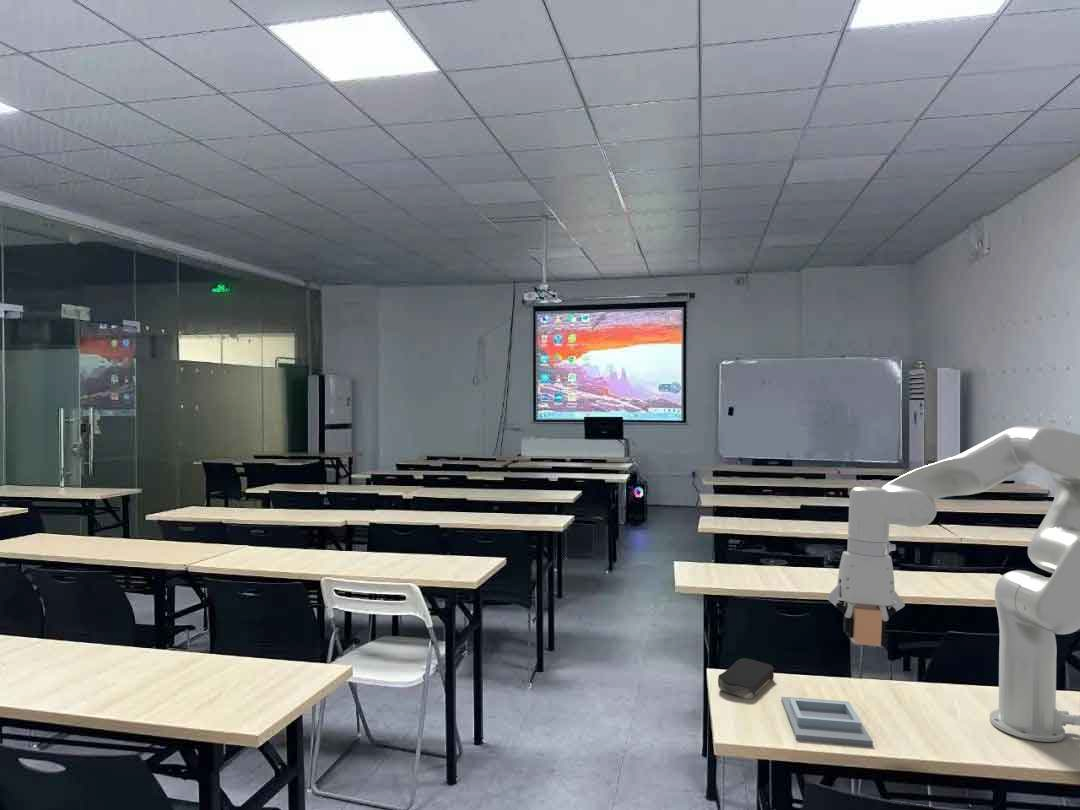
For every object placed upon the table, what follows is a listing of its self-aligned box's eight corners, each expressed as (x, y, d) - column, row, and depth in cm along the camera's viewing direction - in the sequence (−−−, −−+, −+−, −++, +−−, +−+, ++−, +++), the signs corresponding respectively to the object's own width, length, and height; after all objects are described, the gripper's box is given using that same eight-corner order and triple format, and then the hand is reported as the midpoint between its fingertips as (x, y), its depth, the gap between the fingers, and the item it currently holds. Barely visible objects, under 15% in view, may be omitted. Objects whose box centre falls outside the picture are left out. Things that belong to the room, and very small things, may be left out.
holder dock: (848, 706, 153) (848, 694, 153) (872, 746, 135) (872, 733, 135) (781, 701, 155) (781, 689, 155) (796, 739, 138) (796, 726, 138)
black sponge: (741, 671, 173) (741, 656, 173) (776, 679, 168) (776, 664, 168) (714, 693, 160) (715, 677, 160) (751, 703, 155) (751, 686, 155)
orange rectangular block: (873, 638, 146) (874, 604, 146) (880, 646, 141) (882, 611, 141) (847, 635, 146) (849, 602, 146) (854, 644, 142) (855, 609, 141)
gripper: (906, 547, 146) (902, 635, 146) (819, 541, 149) (815, 627, 149) (919, 555, 138) (915, 647, 138) (827, 548, 141) (824, 639, 141)
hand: (863, 636), depth 144 cm, fingers closed on orange rectangular block, 5 cm apart
